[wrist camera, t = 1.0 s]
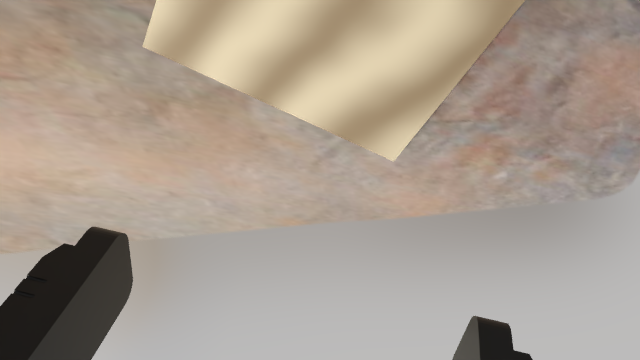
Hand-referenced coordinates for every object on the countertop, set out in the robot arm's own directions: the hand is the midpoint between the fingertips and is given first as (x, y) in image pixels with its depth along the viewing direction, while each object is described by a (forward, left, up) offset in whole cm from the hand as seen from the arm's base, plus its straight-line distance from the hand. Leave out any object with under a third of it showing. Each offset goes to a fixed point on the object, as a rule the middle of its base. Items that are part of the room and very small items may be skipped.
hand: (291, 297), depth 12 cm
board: (+1, -4, -23) cm, 23 cm away
